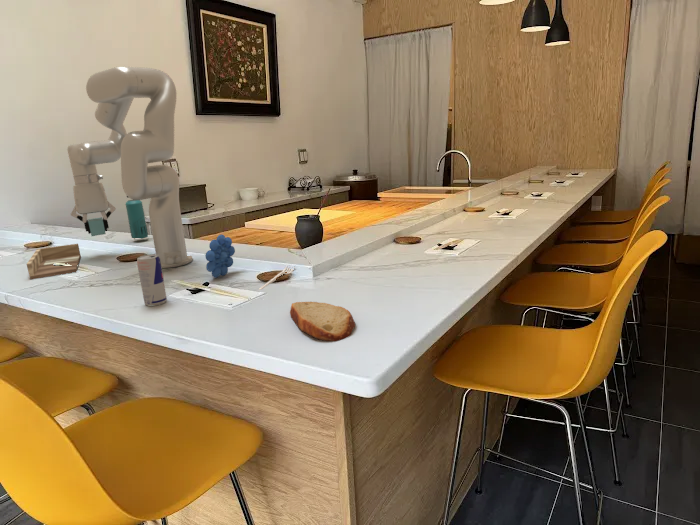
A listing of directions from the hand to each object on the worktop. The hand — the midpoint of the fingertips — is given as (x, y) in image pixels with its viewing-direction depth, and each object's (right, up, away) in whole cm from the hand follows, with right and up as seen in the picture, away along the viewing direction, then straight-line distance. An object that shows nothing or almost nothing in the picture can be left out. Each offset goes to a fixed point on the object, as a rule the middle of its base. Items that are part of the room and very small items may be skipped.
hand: (97, 231), depth 183 cm
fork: (+69, -16, -39) cm, 80 cm away
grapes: (+51, -15, -32) cm, 62 cm away
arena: (-10, -13, -8) cm, 18 cm away
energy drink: (+40, -21, -52) cm, 69 cm away
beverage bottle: (+5, -2, +26) cm, 26 cm away
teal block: (0, -1, 0) cm, 1 cm away
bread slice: (+82, -24, -73) cm, 113 cm away
